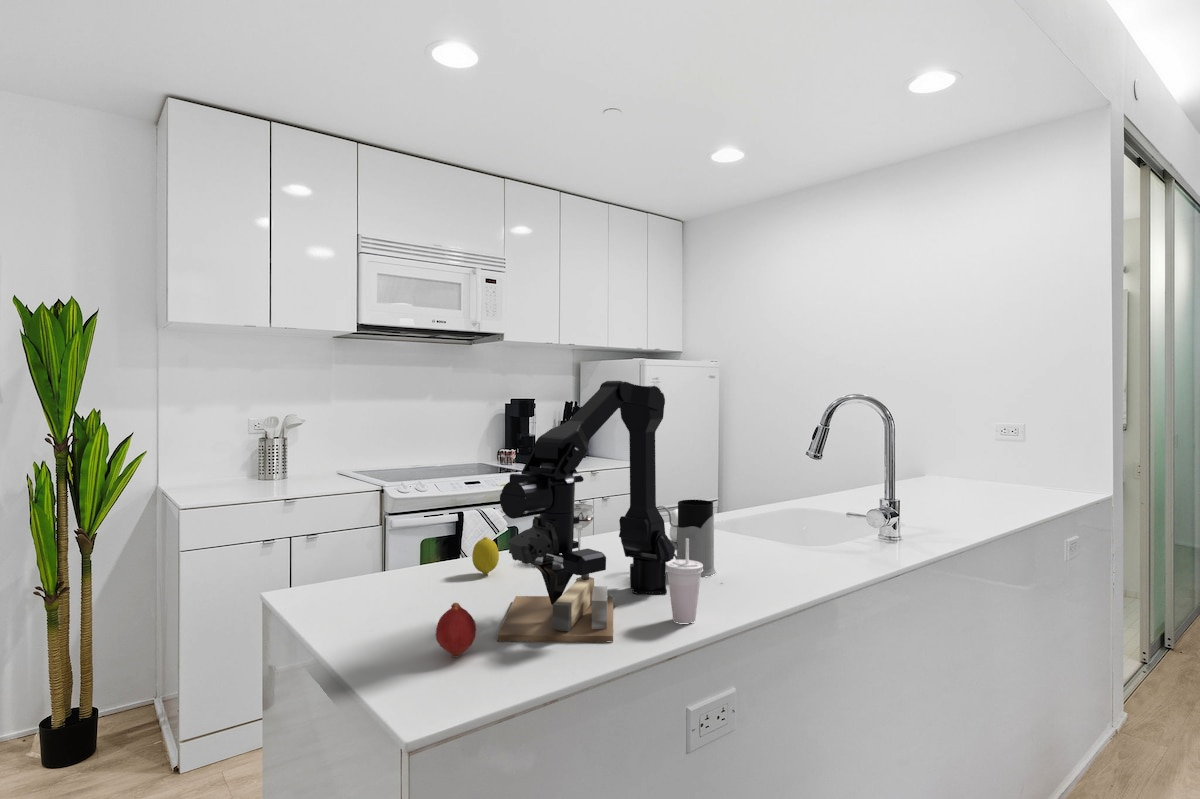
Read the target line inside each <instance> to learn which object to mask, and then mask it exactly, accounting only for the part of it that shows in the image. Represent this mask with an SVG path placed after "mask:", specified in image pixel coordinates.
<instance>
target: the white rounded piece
mask: <svg viewBox="0 0 1200 799" xmlns="http://www.w3.org/2000/svg"><path fill="white" fill-rule="evenodd" d="M671 520H672V524H673V525H678V508H675V509H674V510H673V511H672V512H671ZM715 528H716V521H715V519H714V530H715ZM669 538H670V541H672V542H673V543H675V542H677V527H673V526H671V525H670V529H669Z"/></svg>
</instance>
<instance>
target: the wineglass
mask: <svg viewBox="0 0 1200 799" xmlns="http://www.w3.org/2000/svg"><path fill="white" fill-rule="evenodd" d="M593 508H594V505H592V504H586V503H574V516H576V517H579V523H577V524H574V529H575V531H577V542H579V548H577V550H581V540H582V539H581V536H582V531H583V530H584V529H585V528H587V527H589V525H591V523H592V522H593V520H594V518H595V517H594V516H595V515H594V511H593Z"/></svg>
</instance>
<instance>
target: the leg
mask: <svg viewBox="0 0 1200 799" xmlns="http://www.w3.org/2000/svg"><path fill="white" fill-rule="evenodd" d="M575 580H576V581H574V583H573V584H571V585H570V586H569V587H568V589H566V590H565V591H564V592H563V594H562V596H561V597H560V598H559V599H558V600H557V601H556V602H555V603H554V604H553V630H559V631H569V630H570V629H571V628H572V627H573V625H574V624H575V623H576V622H577V620H578V619H579V618H580V617H581V615H582V614H583V613H584V612H585V611H586V609H587V608H588V607H589V606H590V604H592V594H593V586H595V578H594V577H592V576H589V579H588V580H583V579H581V577H577V578H576V579H575Z"/></svg>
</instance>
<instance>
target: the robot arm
mask: <svg viewBox="0 0 1200 799" xmlns="http://www.w3.org/2000/svg"><path fill="white" fill-rule="evenodd" d="M665 403H666V398H665V395H664V392H662V390H661V389H660V387H658V386H655V385H640V384H639V385H638V384H634V383H631V382H628V381H625V380H606V381H604V382H602V383H601V384H600V386H599V389H598V390H597V391H596V392H595V393H594V394H593V395H592V396H591V397H590V398H589V399H588V400H587V401H586V402H585V403H584V405H582V406H581V407H580V408H579V410H577V412H575V413H574V414H573V415H572V416H571V417H570V418H569V419H568V420H567V421H566V422H565V423H563V424H560V425H558V426H555V427H552V428H550V429H549V430H547V431H546V432H545V433H543V434H542V435H540V436H539V437H537V439H536V441H535V443H534V446H533V447H534V448H533V449H532V451H531V453H530V454H529V457H528V459H527V461H526V462H525V464H524V467H523V469H522V470H521V473H510V474H509V481H508V482H507V483H505V485H504V486H503V488H502V489H501V493H500V494H499V502H500V503H499V504H500V507H501V510H502V512H503V513H504V514H505V516H507V518H510V519H520V518H524V517H531V516H533V519H532V526H531V527H530V528H528V529H525V530H522V531H521V532H519V533H518V534H516V535H515V536H512V537H511V538H510V539H508V541H507V544H508V546H509V547H508V554H510V555H511V557H512V560H514V561H518V562H522V563H523V564H525V565H530V564H531V566H533V567H535V568H536V569H537V570H538V571H539V572H540V574H541V576H542V579H543V581H544V585H545V589H546V591H547V595H548V596H549V598H550V602H551V605H553V604H554V603H555V602H556V601H557V600H558V599H559V598H560V597H561V596H562V595H563V594H564V593H565V591H566V588H567V586H568V583H570V582H569V581H570V580H571V579H572V577H573V575H575V576H581V575H586V574H589V575H590V574H594V573H598V572H603V571H606V569H607V556H606V555H605V554H604V553H603V551H598V550H595V549H591V548H582V549H580V550H578V548H579V542H578V540H575V539H574V535H575V532H574V529H575V528H574V524H577V523H579V517H576V516H574V504H575V498H576V497H575V496H576V495H575V494H576V492H575V491H576V484H577V483H582V482H584V477H583V475H581V474H580V473H579V472H578V471H577V468H578V466H579V465H580V464H581V463H582V461H583V459H584V457H585V456H587V453H588V448H589V447H588V446H589V442H590V440H591V438H593V437H594V435H595V434H596V433H597V432H598V431H599V430H600V429H601V428H602V427H603V426H604V424H606V422H607V421H608V420H609V419H610V418H611V417H612V416H613V415H614V414H615V412H616V411H618V410H619V409H620V418H621V421H622V422H623V424H624V425H625V427H626V429H627V431H628V434H629V437H628V438H629V442H628V444H629V508H628V510H627V512H626V513H625V515H623V516H622V515H621V516H620V517H619V534H618V537H619V538H620V542H621V545H622V548H623V554H624V556H625V557H627V558H632V563H630V564H629V587H630V588H631V589H632V594H655V595H656V594H661V595H662V594H664V595H666V594H667V593H668V589H667V586H666V585H667V584H666V582H667V578H666V577H667V571H666V570H665V568H666V563H667V562H668V561H672V560H674V558H675V557H674V553H675V552H676V548H675V546H674V545H673V543H672V542H671V541H672V540H671V539H669V538H670V537H668V536H667V534H666V527H665V520H664V518H663V516H662V514H661V513H660V511H659V508H657V507H658V506H657V502H656V500H657V498H656V497H657V494H656V490H657V489H656V488H657V487H656V486H657V484H656V480H657V479H656V431H657V429H658V428H659V426H660V424H661V423H662V421H663V419H664V412H665V405H666V404H665ZM536 515H537V516H536ZM575 549H577V550H575ZM675 554H676V553H675Z"/></svg>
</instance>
